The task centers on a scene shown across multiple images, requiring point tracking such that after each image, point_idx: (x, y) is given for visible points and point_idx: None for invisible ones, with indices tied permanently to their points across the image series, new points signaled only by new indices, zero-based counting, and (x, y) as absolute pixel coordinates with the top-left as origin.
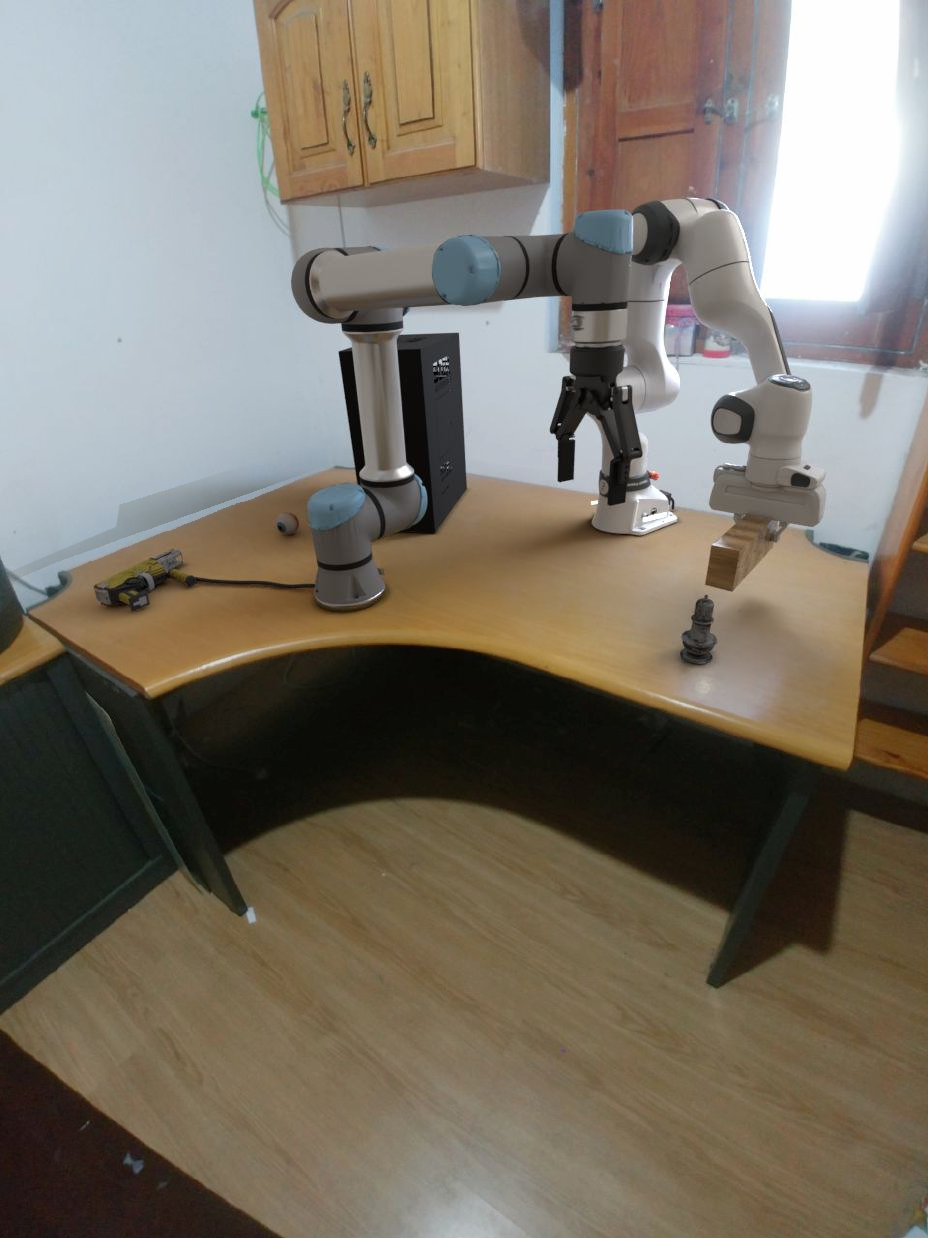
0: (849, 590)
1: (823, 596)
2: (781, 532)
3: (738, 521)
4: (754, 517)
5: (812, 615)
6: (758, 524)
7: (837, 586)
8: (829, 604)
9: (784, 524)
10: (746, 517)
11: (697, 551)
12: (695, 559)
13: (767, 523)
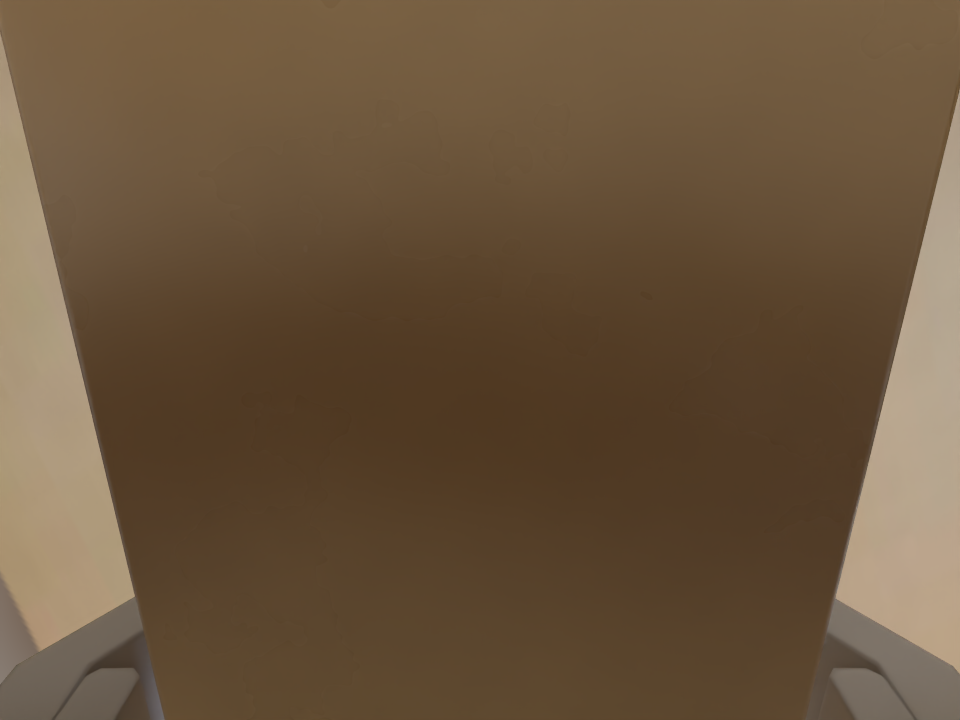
0: (37, 581)
1: (100, 452)
2: (132, 600)
3: (948, 77)
4: (564, 642)
5: (29, 179)
6: (259, 148)
7: (101, 594)
8: (30, 375)
9: (15, 713)
10: (754, 552)
11: None
12: (869, 534)
13: (88, 386)
